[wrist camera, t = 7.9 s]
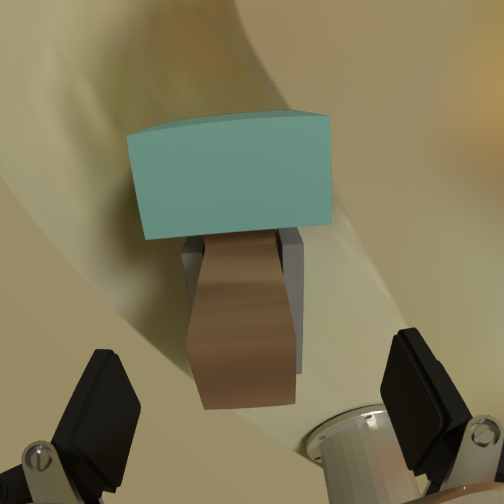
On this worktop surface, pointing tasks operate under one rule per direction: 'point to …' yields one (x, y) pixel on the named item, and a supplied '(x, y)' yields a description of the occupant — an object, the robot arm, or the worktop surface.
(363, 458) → the robot arm
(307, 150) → the teal rectangular block
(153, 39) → the worktop surface
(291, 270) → the guide channel
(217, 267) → the rod
